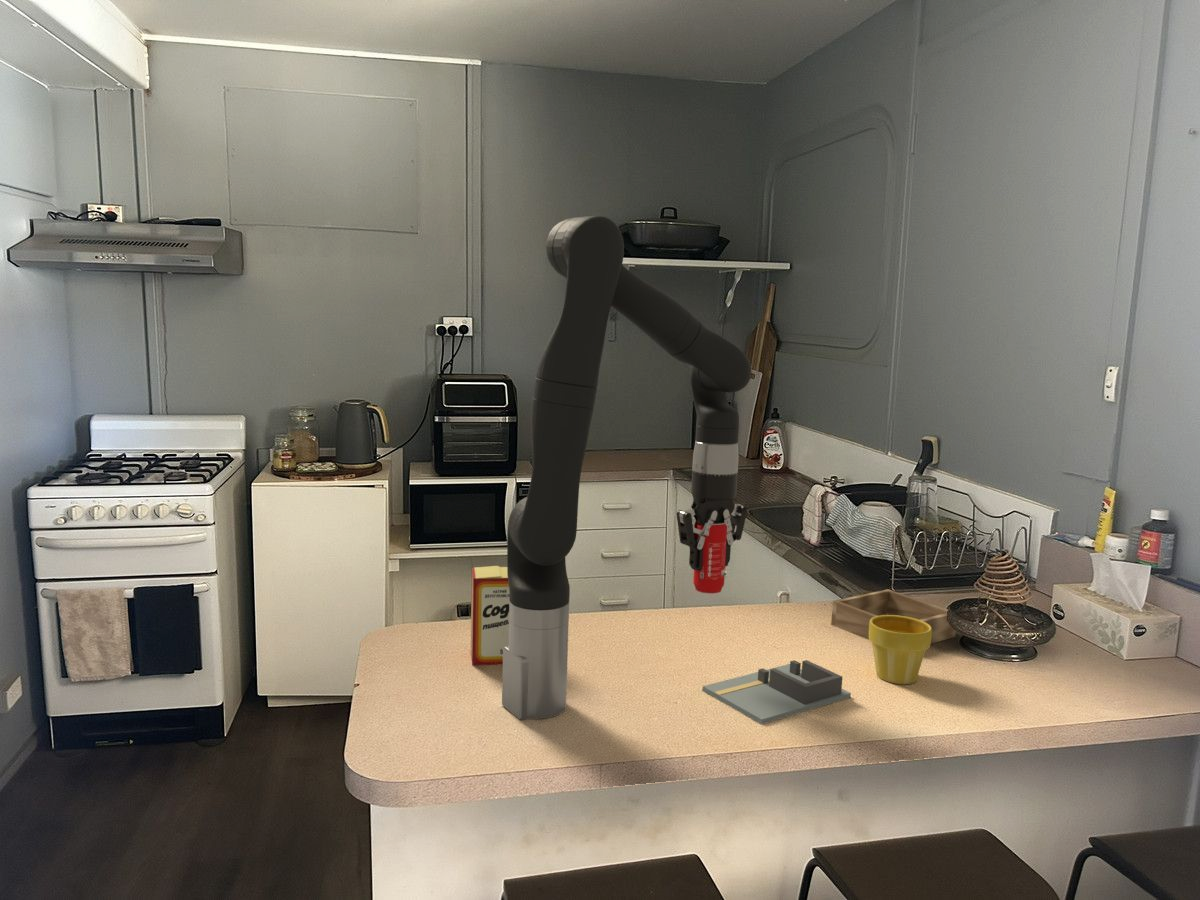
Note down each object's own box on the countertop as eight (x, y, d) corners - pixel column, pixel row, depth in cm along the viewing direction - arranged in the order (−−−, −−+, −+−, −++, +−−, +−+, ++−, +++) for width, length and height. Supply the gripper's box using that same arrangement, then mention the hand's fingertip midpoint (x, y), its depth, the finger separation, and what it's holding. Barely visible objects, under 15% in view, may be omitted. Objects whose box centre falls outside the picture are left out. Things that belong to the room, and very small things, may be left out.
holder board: (761, 724, 138) (762, 700, 137) (702, 690, 149) (703, 668, 148) (850, 697, 149) (852, 675, 148) (789, 668, 160) (790, 647, 159)
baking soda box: (522, 649, 164) (524, 564, 162) (526, 663, 158) (528, 575, 156) (470, 651, 163) (471, 565, 160) (472, 665, 156) (473, 576, 154)
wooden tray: (899, 652, 170) (901, 626, 169) (831, 624, 184) (832, 600, 183) (955, 636, 179) (957, 612, 178) (885, 611, 193) (887, 589, 192)
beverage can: (713, 596, 149) (717, 525, 147) (687, 589, 152) (690, 520, 150) (729, 589, 153) (733, 520, 151) (702, 583, 156) (706, 515, 154)
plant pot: (873, 661, 165) (878, 609, 163) (932, 674, 160) (937, 621, 158) (858, 679, 156) (862, 625, 155) (920, 694, 151) (925, 638, 149)
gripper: (696, 475, 142) (690, 579, 145) (762, 469, 150) (756, 567, 153) (667, 467, 149) (662, 567, 151) (732, 462, 156) (726, 556, 159)
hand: (709, 566), depth 152 cm, fingers closed on beverage can, 5 cm apart
